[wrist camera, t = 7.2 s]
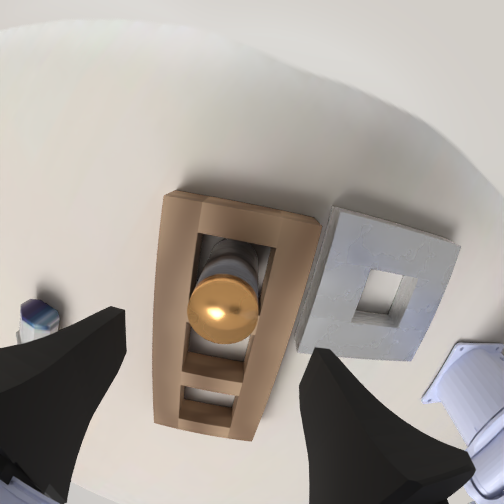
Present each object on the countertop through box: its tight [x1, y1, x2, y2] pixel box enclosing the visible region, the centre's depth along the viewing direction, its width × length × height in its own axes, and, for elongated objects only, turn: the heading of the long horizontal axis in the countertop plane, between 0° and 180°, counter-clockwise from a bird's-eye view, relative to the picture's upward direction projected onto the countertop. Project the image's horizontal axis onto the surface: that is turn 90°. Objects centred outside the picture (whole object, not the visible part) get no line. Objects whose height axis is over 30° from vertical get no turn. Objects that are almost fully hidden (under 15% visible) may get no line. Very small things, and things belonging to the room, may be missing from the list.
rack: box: [152, 190, 322, 441], centre depth 20 cm, size 9×20×2 cm, turn 169°
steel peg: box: [187, 238, 258, 344], centre depth 16 cm, size 3×3×7 cm
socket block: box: [294, 206, 461, 361], centre depth 19 cm, size 10×10×2 cm
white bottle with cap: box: [16, 299, 60, 345], centre depth 23 cm, size 5×7×25 cm
